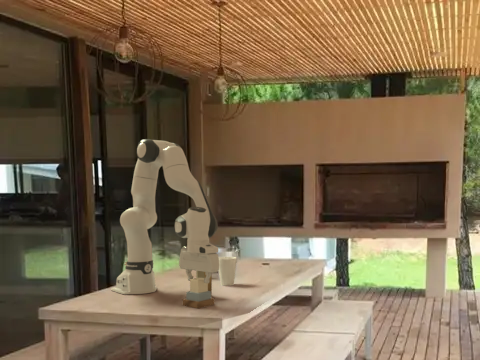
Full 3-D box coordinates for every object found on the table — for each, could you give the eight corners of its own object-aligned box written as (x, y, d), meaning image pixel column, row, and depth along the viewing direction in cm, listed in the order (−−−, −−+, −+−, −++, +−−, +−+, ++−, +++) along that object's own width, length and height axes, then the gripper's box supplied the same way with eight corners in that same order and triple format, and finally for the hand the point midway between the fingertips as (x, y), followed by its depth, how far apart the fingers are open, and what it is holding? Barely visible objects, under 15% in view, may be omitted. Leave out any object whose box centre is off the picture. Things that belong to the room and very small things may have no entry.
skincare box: (197, 298, 240) (197, 269, 240) (195, 296, 244) (195, 268, 244) (212, 297, 242) (212, 268, 242) (210, 295, 246) (209, 267, 246)
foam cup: (215, 283, 276) (215, 257, 276) (233, 282, 278) (233, 256, 278) (220, 286, 266) (220, 259, 267) (239, 285, 269) (238, 258, 269)
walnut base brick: (182, 306, 226) (182, 299, 226) (199, 303, 232) (198, 296, 232) (198, 309, 219) (197, 302, 220) (214, 306, 226) (214, 298, 226)
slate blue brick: (186, 299, 225) (186, 292, 225) (198, 296, 231) (198, 289, 231) (198, 301, 221) (198, 293, 221) (211, 298, 226) (210, 291, 226)
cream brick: (190, 291, 226) (190, 279, 226) (199, 289, 230) (199, 277, 230) (198, 293, 223) (198, 280, 223) (207, 291, 226) (207, 278, 226)
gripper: (175, 246, 231) (175, 280, 231) (209, 249, 217) (210, 285, 217) (186, 245, 236) (187, 278, 235) (221, 248, 222) (221, 283, 222)
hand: (198, 281), depth 226 cm, fingers open, 8 cm apart
